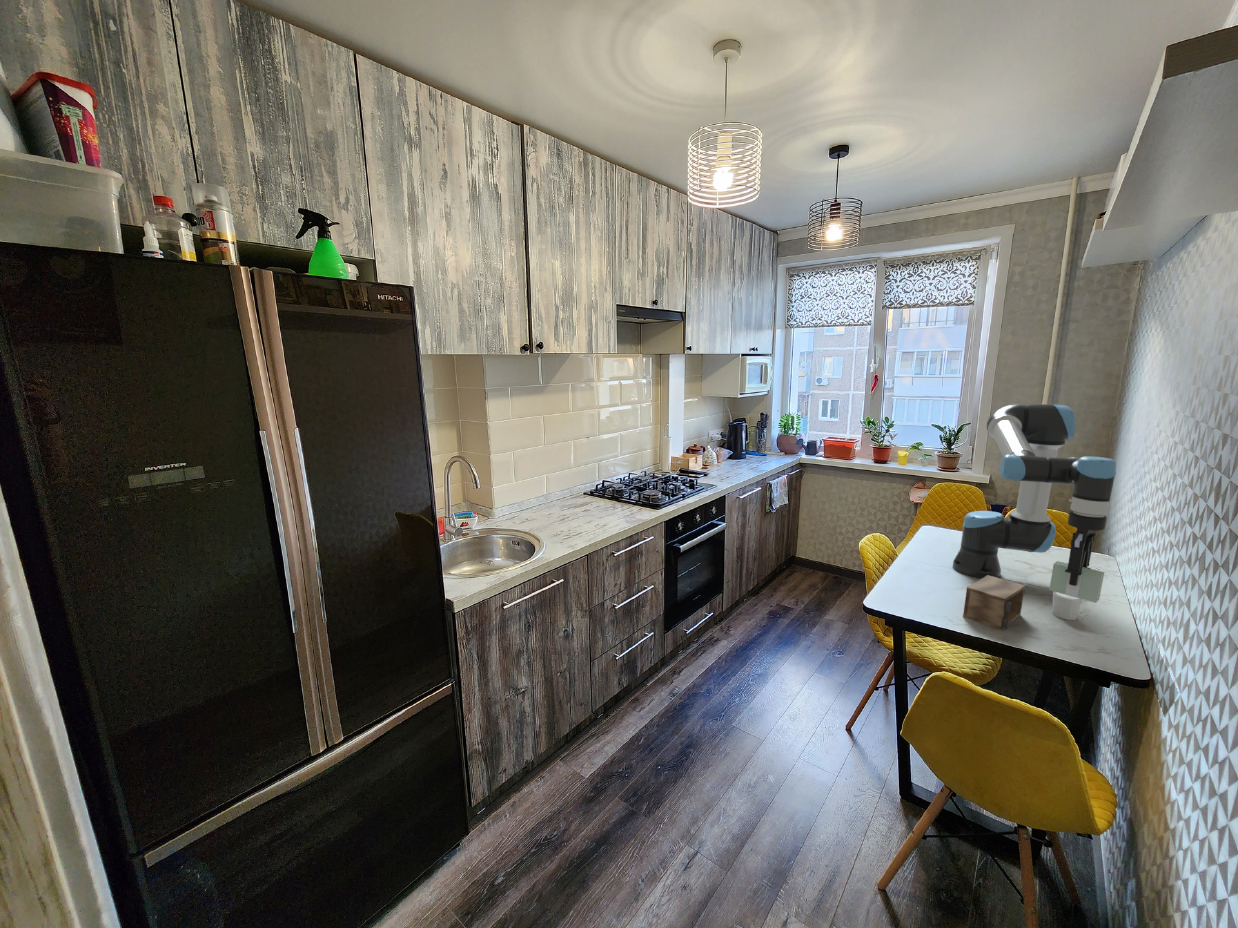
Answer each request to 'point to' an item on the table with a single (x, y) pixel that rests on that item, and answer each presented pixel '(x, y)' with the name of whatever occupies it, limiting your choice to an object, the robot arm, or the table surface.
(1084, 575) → the pale green rectangular block
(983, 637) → the table surface
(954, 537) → the table surface
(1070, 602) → the shot glass
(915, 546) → the table surface
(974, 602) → the cabinet
